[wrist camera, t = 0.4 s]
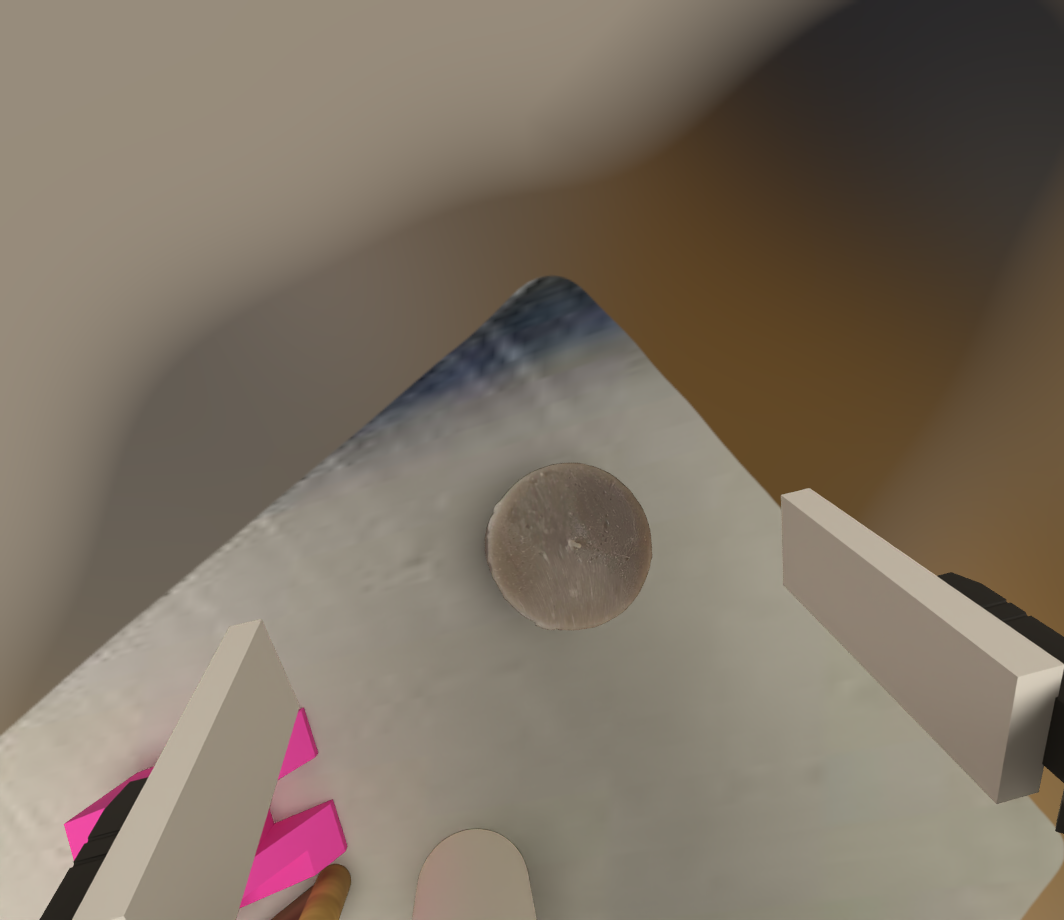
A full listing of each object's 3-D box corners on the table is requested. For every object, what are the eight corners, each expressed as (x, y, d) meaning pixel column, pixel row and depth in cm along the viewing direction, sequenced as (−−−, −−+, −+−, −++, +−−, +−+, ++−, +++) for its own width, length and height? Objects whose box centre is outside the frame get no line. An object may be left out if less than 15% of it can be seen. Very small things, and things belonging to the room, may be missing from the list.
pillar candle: (613, 497, 48) (673, 476, 33) (591, 618, 47) (645, 651, 32) (496, 473, 48) (506, 440, 33) (470, 594, 46) (468, 617, 31)
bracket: (178, 918, 41) (83, 1042, 31) (137, 772, 42) (31, 846, 32) (347, 845, 43) (310, 940, 33) (304, 707, 44) (254, 757, 34)
